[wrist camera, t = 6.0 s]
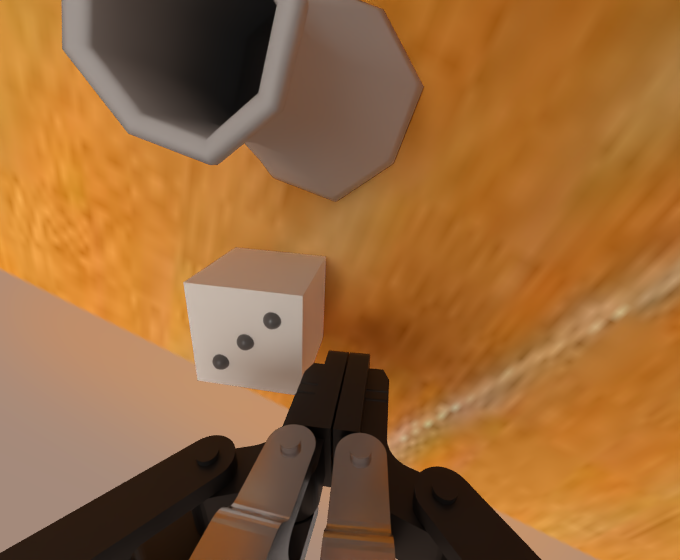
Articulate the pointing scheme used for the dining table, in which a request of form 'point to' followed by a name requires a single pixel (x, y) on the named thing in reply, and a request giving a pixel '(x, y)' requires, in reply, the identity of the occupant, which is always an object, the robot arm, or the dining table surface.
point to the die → (257, 318)
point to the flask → (253, 81)
